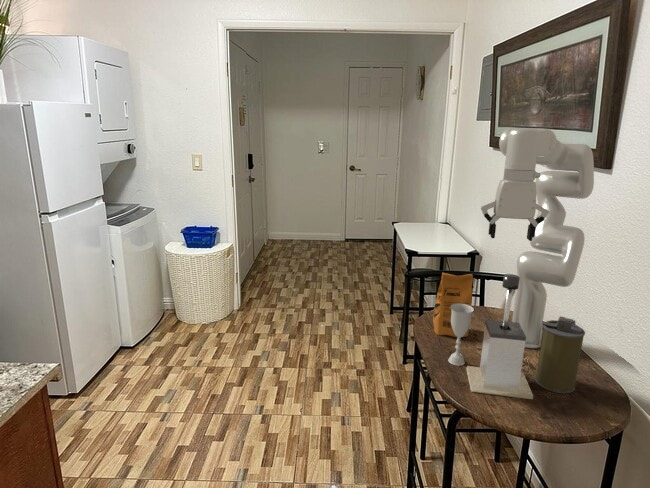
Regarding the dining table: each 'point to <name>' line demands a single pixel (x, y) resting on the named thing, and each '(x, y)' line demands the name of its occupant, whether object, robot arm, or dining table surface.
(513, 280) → the plunger
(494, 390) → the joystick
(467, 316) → the chalice
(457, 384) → the dining table surface
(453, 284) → the coffee package
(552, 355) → the canister
